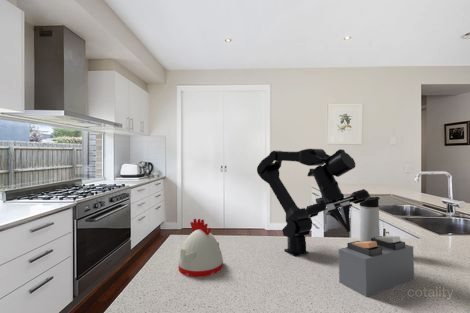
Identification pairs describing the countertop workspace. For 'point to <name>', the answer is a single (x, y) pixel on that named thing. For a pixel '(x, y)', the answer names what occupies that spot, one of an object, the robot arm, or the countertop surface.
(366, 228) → the travel mug
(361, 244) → the orange rocker
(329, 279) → the countertop surface
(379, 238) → the white rocker
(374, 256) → the switch box
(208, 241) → the kitchen timer
